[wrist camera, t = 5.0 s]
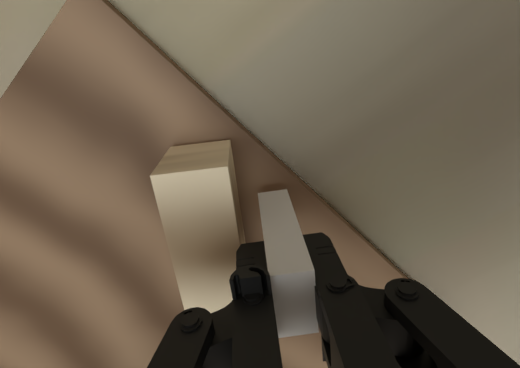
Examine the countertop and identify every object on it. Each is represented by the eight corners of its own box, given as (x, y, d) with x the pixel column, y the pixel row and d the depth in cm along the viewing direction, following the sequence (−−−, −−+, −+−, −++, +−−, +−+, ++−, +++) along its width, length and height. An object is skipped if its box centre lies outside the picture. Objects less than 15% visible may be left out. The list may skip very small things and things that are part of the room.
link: (286, 438, 26) (294, 503, 22) (223, 446, 26) (221, 513, 22) (250, 137, 16) (253, 163, 13) (150, 149, 16) (123, 178, 12)
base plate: (90, -16, 15) (80, -20, 14) (450, 317, 24) (459, 328, 23) (-128, 302, 20) (-145, 314, 19) (230, 471, 30) (230, 485, 29)
